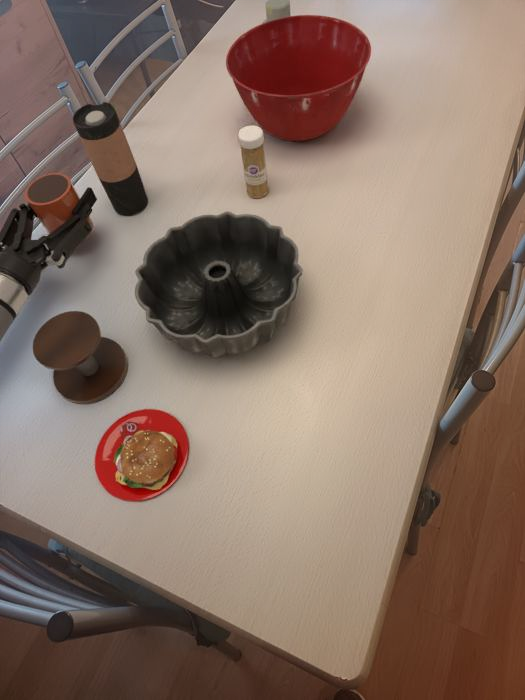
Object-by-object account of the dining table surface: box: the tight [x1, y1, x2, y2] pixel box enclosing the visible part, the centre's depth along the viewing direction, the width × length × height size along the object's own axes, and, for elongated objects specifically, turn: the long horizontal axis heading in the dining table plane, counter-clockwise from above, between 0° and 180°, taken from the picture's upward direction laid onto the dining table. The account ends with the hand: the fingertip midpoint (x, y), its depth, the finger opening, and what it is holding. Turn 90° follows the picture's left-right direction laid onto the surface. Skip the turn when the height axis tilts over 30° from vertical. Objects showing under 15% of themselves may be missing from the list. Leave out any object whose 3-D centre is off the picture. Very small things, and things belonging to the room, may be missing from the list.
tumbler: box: [24, 172, 94, 242], centre depth 91 cm, size 8×8×10 cm
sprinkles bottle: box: [237, 124, 270, 199], centre depth 95 cm, size 5×5×13 cm
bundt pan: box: [134, 210, 303, 360], centre depth 82 cm, size 26×26×10 cm
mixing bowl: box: [225, 14, 372, 142], centre depth 104 cm, size 28×28×16 cm
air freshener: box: [261, 0, 291, 24], centre depth 124 cm, size 11×8×10 cm
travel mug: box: [72, 101, 149, 217], centre depth 94 cm, size 8×8×20 cm
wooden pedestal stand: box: [32, 310, 129, 405], centre depth 78 cm, size 12×12×10 cm
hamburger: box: [94, 408, 190, 502], centre depth 71 cm, size 14×14×6 cm
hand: (71, 190), depth 93 cm, fingers closed on tumbler, 8 cm apart
